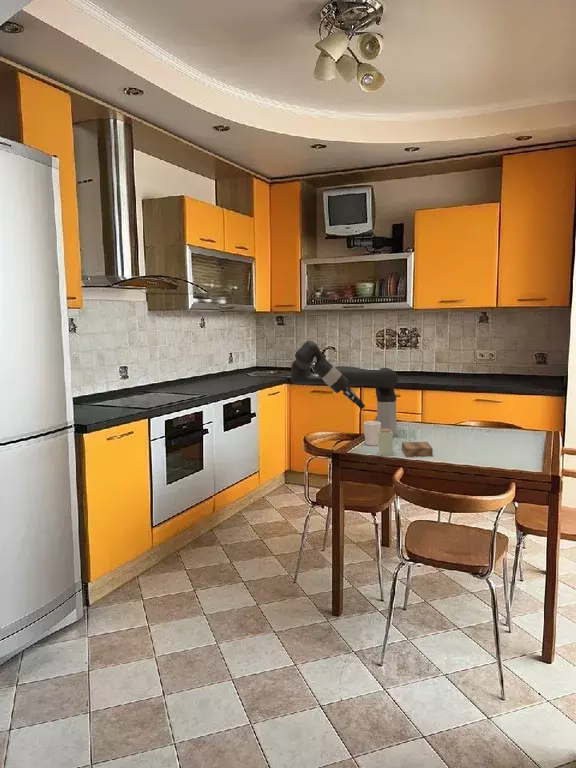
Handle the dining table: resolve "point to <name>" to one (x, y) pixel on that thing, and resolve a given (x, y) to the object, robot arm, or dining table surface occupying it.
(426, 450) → the walnut block
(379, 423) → the white cup
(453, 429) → the dining table surface
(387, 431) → the canister
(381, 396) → the robot arm
